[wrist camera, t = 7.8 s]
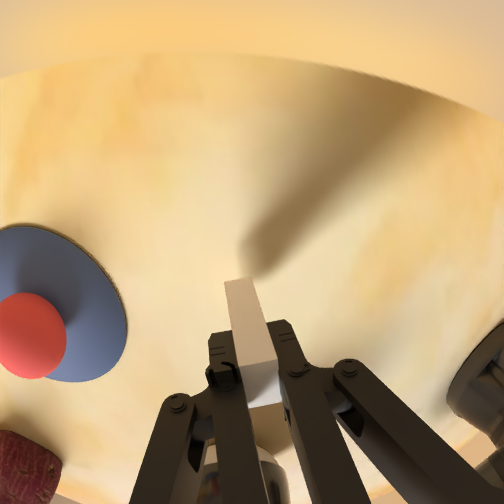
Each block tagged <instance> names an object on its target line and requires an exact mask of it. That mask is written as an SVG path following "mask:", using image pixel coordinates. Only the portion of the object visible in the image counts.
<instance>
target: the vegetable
mask: <svg viewBox="0 0 504 504" xmlns="http://www.w3.org/2000/svg"><path fill="white" fill-rule="evenodd" d="M61 470H62V463H61V461H60V460H59V459H58V458H57V457H56V456H55V455H54V454H53V453H52V452H50V451H48V450H47V449H45V448H44V447H42V446H40V445H38V444H36V443H34V442H32V441H30V440H28V439H27V438H25V437H22V436H21V435H18V434H16V433H14V432H12V431H0V504H49V503H50V501H51V499H52V498H53V496H54V494H55V491H56V489H57V486H58V483H59V480H60V476H61Z"/></svg>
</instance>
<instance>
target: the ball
mask: <svg viewBox="0 0 504 504" xmlns="http://www.w3.org/2000/svg"><path fill="white" fill-rule="evenodd" d="M66 344H67V336H66V329H65V326H64V323H63V320H62V318H61V316H60V314H59V313H58V311H57V310H56V308H55V307H54V306H53V305H52V304H51V303H50V302H49V301H47V300H46V299H44V298H43V297H41V296H39V295H36V294H33V293H27V292H21V293H16V294H13V295H10V296H8V297H7V298H5V299H4V300H3V301H2V302H1V303H0V363H1V364H2V365H3V366H4V367H5V368H6V369H7V370H8V371H10V372H11V373H13V374H15V375H17V376H19V377H22V378H27V379H37V378H41V377H44V376H47V375H48V374H50V373H51V372H53V371H54V370H55V369H56V368H57V367H58V365H59V364H60V362H61V361H62V359H63V357H64V354H65V350H66Z"/></svg>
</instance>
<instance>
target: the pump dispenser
mask: <svg viewBox="0 0 504 504" xmlns="http://www.w3.org/2000/svg"><path fill="white" fill-rule="evenodd" d="M257 450H258V454H259V459H260V463H261V468H262V472H263V477H264V481H265V486H266V490H267V494H268V499H269V503H270V504H291V501H290V491H289V484H288V479H287V475H286V472H285V470H284V469H283V468H282V467H281V466H279V464H278V463H277V461H276V460H275V458H274V457H273V456H272V455H271V454H270V453H268V452H267V451H266V450H264V449H263V448H261V447H259V446H257ZM196 504H223V502H222V495H221V488H220V480H219V472H218V464H217V455H216V447H215V444H214V445H211V446H209V447H208V448H207V453H206V458H205V463H204V468H203V473H202V478H201V483H200V488H199V492H198V497H197V502H196Z"/></svg>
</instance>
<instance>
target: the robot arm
mask: <svg viewBox="0 0 504 504" xmlns="http://www.w3.org/2000/svg"><path fill="white" fill-rule="evenodd" d="M224 285H225V291H226V298H227V304H228V310H229V316H230V321H231V327H232V330H229V331H224V332H218V333H212V334H211V336H210V338H209V340H208V347H209V360H210V365H209V366H208V367H207V369H206V372H205V375H206V378H207V381H208V384H209V386H208V387H207V388H206V389H205V390H204V391H203V392H201V393H199V394H197V395H194V396H192V397H190V396H189V395H188V394H184V393H177V394H173V395H171V396H169V397H168V398H166V399H165V400H164V402H163V404H162V406H161V409H160V412H159V415H158V417H157V420H156V423H155V426H154V429H153V432H152V435H151V438H150V441H149V444H148V447H147V450H146V453H145V456H144V459H143V462H142V465H141V468H140V471H139V474H138V477H137V480H136V483H135V486H134V489H133V492H132V495H131V498H130V502H129V504H196V502H197V497H198V492H199V488H200V483H201V478H202V473H203V468H204V463H205V458H206V453H207V448H208V443H209V439H211V438H213V437H215V447H216V455H217V464H218V472H219V480H220V488H221V495H222V502H223V504H270V503H269V499H268V494H267V490H266V486H265V481H264V477H263V472H262V468H261V463H260V459H259V454H258V450H257V445H256V440H255V436H254V431H253V426H252V422H251V417H250V413H249V408H254V407H259V406H264V405H269V404H274V403H278V402H282V401H283V404H284V414H285V421H287V422H288V426H289V429H290V432H291V436H292V439H293V442H294V446H295V449H296V452H297V456H298V459H299V462H300V465H301V469H302V472H303V475H304V478H305V482H306V485H307V488H308V491H309V495H310V498H311V501H312V504H371V501H370V499H369V497H368V494H367V492H366V490H365V487H364V485H363V482H362V480H361V478H360V475H359V473H358V471H357V468H356V466H355V464H354V461H353V459H352V457H351V454H350V452H349V450H348V447H347V445H346V442H345V440H344V438H343V435H342V433H341V431H340V428H339V426H338V424H337V422H336V420H337V421H338V422H339V424H340V425H341V426H342V427H343V428H344V430H345V431H346V432H347V433H348V435H349V436H350V437H351V438H352V439H353V440H354V442H355V443H356V444H357V445H358V446H359V448H360V449H361V450H362V451H363V452H364V454H365V455H366V456H367V457H368V458H369V459H370V461H371V462H372V463H373V464H374V465H375V466H376V468H377V469H378V470H379V471H380V472H381V473H382V475H383V476H384V477H385V478H386V479H387V480H388V481H389V483H390V484H391V485H392V486H393V487H394V488H395V489H396V490H397V492H398V493H399V494H400V495H401V496H402V497H403V498H404V500H405V501H406V502H407V503H408V504H504V323H503V324H502V325H500V326H499V327H498V328H497V329H495V330H494V331H493V332H492V333H491V334H490V335H489V336H488V337H487V338H486V339H485V340H484V341H483V342H482V343H481V344H480V345H479V346H478V347H477V348H476V350H475V351H474V352H473V353H472V354H471V355H470V357H469V358H468V359H467V361H466V362H465V363H464V365H463V366H462V367H461V369H460V370H459V372H458V373H457V375H456V376H455V378H454V380H453V382H452V384H451V386H450V388H449V390H448V394H447V403H448V405H449V406H450V408H451V409H452V410H453V412H454V413H455V414H456V415H457V416H458V417H460V418H463V419H465V420H466V421H467V422H469V423H470V424H471V425H473V426H474V427H476V428H477V429H479V430H481V431H482V432H484V433H485V434H487V435H488V437H489V438H490V439H491V441H492V442H493V443H494V445H495V446H496V448H497V450H496V451H495V452H494V453H493V454H491V455H490V456H489V457H488V458H486V459H485V460H484V461H483V462H482V463H480V464H479V465H478V466H477V467H475V468H473V467H471V466H470V465H469V464H468V463H467V462H466V461H465V460H464V459H463V458H462V457H461V456H460V455H459V454H458V453H457V452H456V451H454V450H453V449H452V448H451V447H450V446H449V445H448V444H447V443H446V442H445V441H444V440H443V439H442V438H441V437H440V436H439V435H438V434H436V433H435V432H434V431H433V430H432V429H431V428H430V427H429V426H428V425H427V424H426V423H425V422H424V421H423V420H422V419H421V418H420V417H419V416H417V415H416V414H415V413H414V412H413V411H412V410H411V409H410V408H409V407H408V406H407V405H406V404H405V403H404V402H403V401H402V400H401V399H400V398H398V397H397V396H396V395H395V394H394V393H393V392H392V391H391V390H390V389H389V388H388V387H387V386H386V385H385V384H384V383H383V382H382V381H381V380H380V379H378V378H377V377H376V376H375V375H374V374H373V373H372V372H371V371H370V370H369V369H368V368H367V367H366V366H365V365H364V364H363V363H361V362H360V361H358V360H355V359H344V360H341V361H339V362H338V363H336V364H335V366H334V368H319V367H315V366H313V365H311V364H310V363H309V362H307V360H306V358H305V356H304V354H303V351H302V349H301V347H300V344H299V342H298V340H297V338H296V335H295V333H294V330H293V328H292V326H291V324H290V323H288V322H287V321H286V320H284V319H283V320H278V321H273V322H268V323H266V322H265V319H264V315H263V312H262V309H261V306H260V303H259V300H258V297H257V294H256V291H255V288H254V285H253V281H252V278H251V277H249V278H243V279H238V280H232V281H227V282H224Z"/></svg>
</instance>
